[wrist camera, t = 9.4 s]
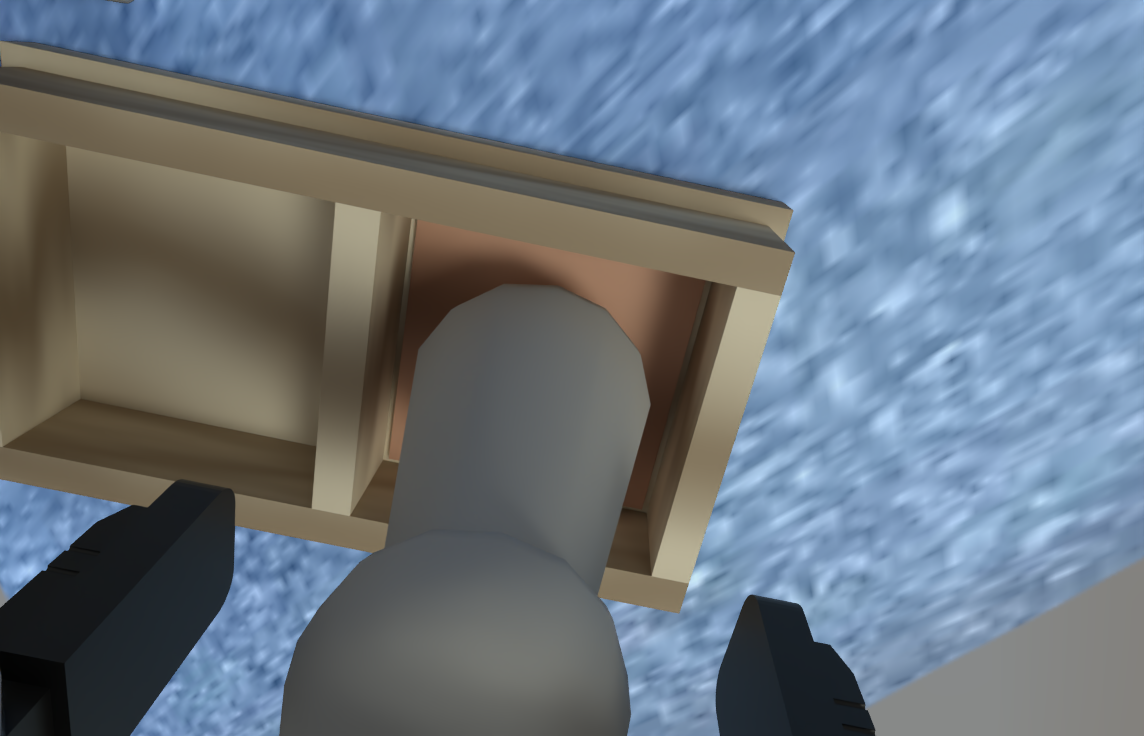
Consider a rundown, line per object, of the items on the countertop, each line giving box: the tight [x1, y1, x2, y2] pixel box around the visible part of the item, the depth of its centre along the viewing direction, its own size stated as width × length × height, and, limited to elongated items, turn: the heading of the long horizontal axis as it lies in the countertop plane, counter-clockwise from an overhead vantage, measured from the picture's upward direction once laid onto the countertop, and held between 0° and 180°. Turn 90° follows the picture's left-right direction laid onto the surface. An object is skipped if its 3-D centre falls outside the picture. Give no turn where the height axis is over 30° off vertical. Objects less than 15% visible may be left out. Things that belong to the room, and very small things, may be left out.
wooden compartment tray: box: [0, 41, 795, 613], centre depth 20 cm, size 11×20×4 cm, turn 79°
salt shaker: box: [279, 284, 651, 736], centre depth 14 cm, size 6×6×13 cm
